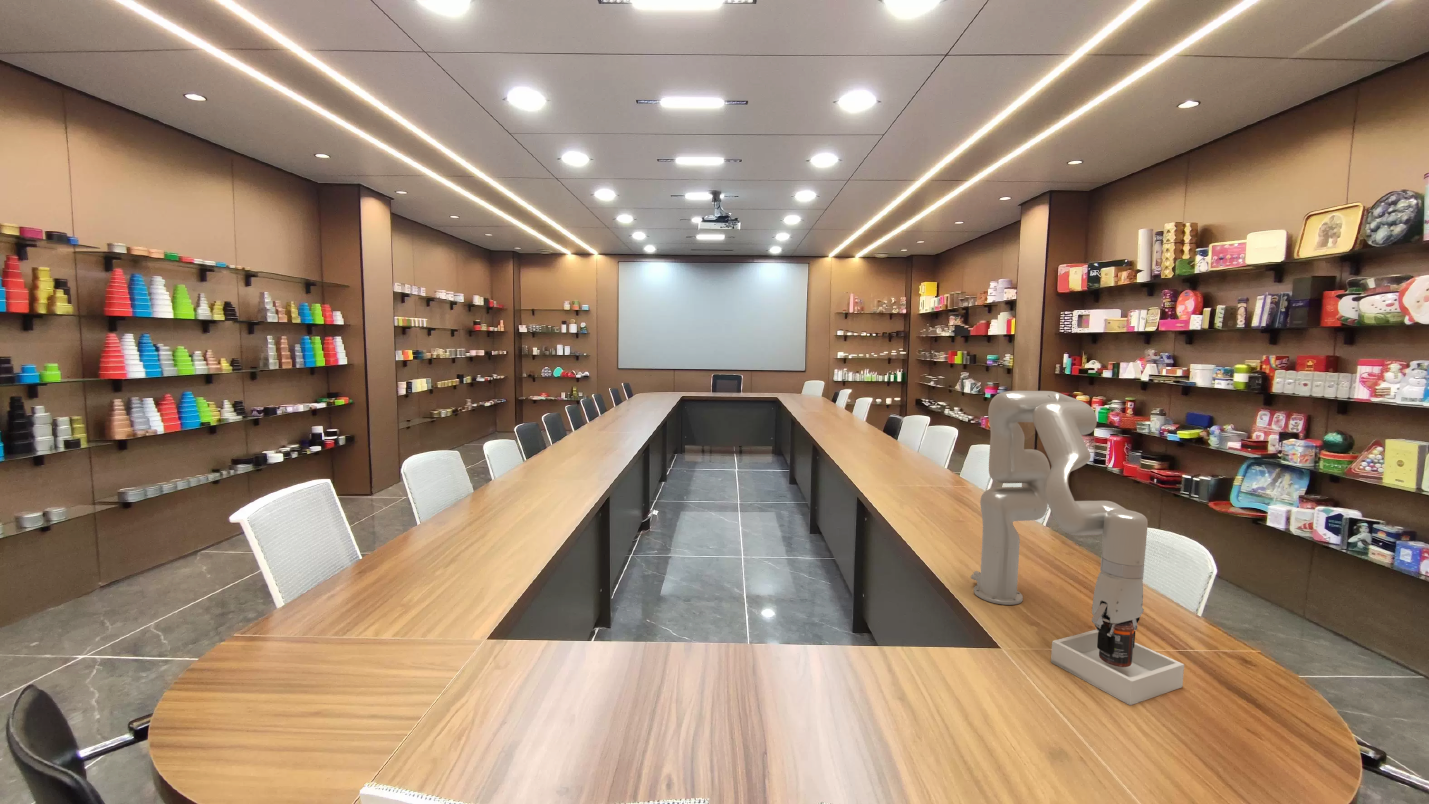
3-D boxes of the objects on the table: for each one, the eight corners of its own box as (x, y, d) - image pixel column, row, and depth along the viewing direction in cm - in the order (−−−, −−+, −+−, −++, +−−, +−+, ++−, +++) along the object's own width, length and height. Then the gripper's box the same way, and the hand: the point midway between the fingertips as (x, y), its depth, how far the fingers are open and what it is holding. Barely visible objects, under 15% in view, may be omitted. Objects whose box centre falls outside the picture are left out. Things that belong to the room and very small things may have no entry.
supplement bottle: (1120, 654, 127) (1125, 605, 126) (1138, 669, 121) (1142, 618, 120) (1092, 652, 127) (1096, 604, 126) (1108, 667, 121) (1112, 616, 120)
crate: (1050, 662, 129) (1052, 640, 128) (1100, 648, 135) (1102, 627, 135) (1130, 705, 113) (1132, 681, 113) (1182, 687, 120) (1184, 664, 119)
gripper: (1129, 556, 129) (1123, 633, 131) (1077, 567, 122) (1071, 647, 124) (1166, 568, 122) (1159, 649, 124) (1113, 580, 116) (1106, 665, 117)
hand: (1115, 647), depth 124 cm, fingers closed on supplement bottle, 6 cm apart
